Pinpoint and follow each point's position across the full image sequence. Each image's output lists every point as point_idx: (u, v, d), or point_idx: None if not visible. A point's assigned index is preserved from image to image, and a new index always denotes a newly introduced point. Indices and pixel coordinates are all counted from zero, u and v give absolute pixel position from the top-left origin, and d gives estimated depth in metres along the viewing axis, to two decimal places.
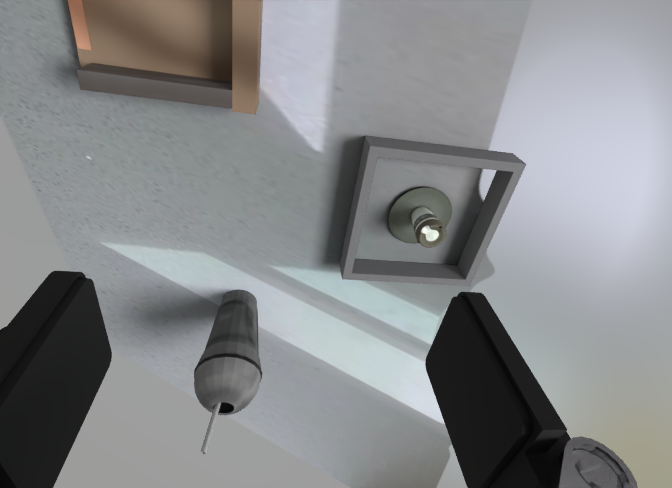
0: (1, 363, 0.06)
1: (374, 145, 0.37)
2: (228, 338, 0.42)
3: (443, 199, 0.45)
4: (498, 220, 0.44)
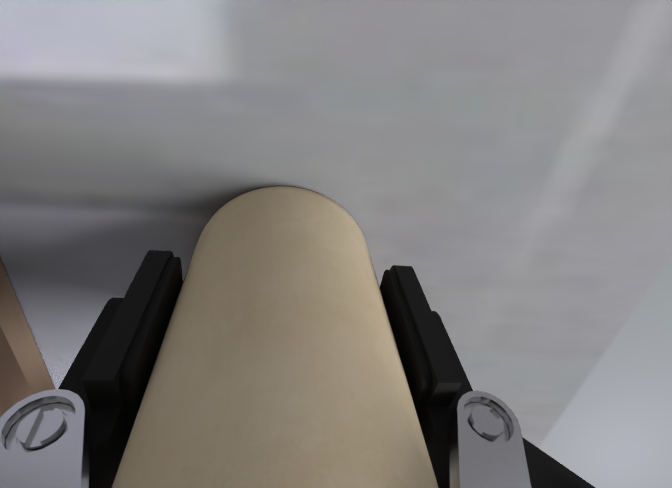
0: (130, 323, 0.07)
1: None
2: None
3: None
4: None
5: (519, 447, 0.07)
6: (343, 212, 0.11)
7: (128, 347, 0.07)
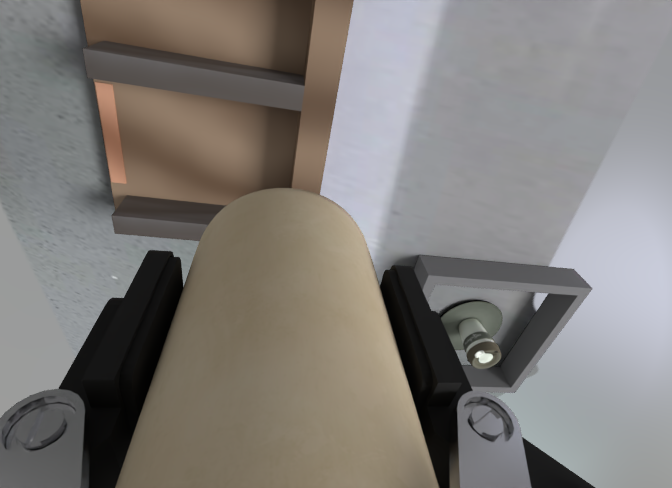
0: (130, 323, 0.07)
1: (432, 273, 0.34)
2: None
3: (494, 311, 0.41)
4: (554, 337, 0.41)
5: (519, 447, 0.07)
6: (344, 213, 0.11)
7: (128, 347, 0.07)
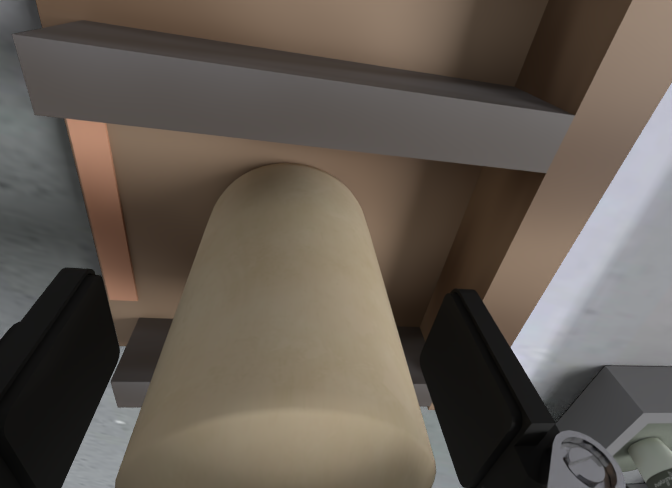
0: (16, 357, 0.07)
1: (647, 407, 0.20)
2: None
3: None
4: None
5: None
6: (345, 188, 0.12)
7: (5, 386, 0.06)
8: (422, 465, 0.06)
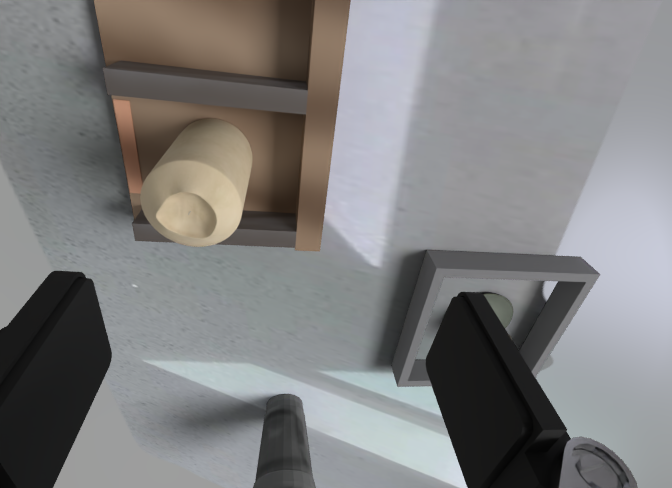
0: (1, 363, 0.06)
1: (440, 266, 0.35)
2: (282, 465, 0.39)
3: (504, 302, 0.42)
4: (566, 325, 0.41)
5: None
6: (236, 129, 0.27)
7: None
8: (230, 187, 0.21)
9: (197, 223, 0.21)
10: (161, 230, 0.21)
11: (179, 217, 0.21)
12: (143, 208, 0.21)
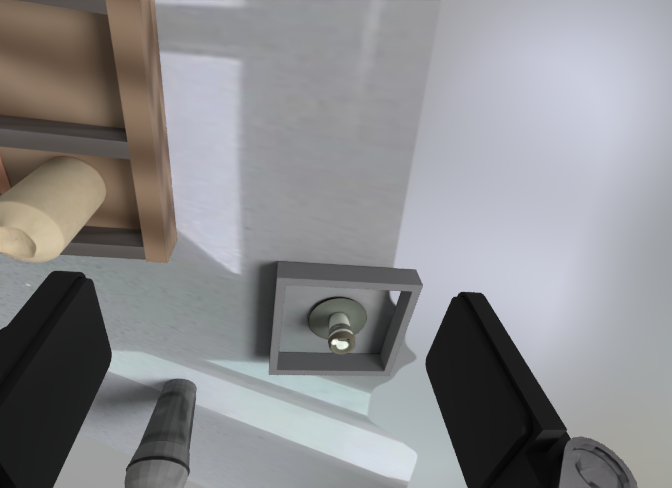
0: (1, 363, 0.06)
1: (281, 276, 0.42)
2: (158, 437, 0.47)
3: (357, 306, 0.49)
4: (406, 326, 0.48)
5: None
6: (86, 165, 0.34)
7: None
8: (48, 221, 0.28)
9: (25, 247, 0.28)
10: None
11: (10, 242, 0.28)
12: None
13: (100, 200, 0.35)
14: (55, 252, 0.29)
